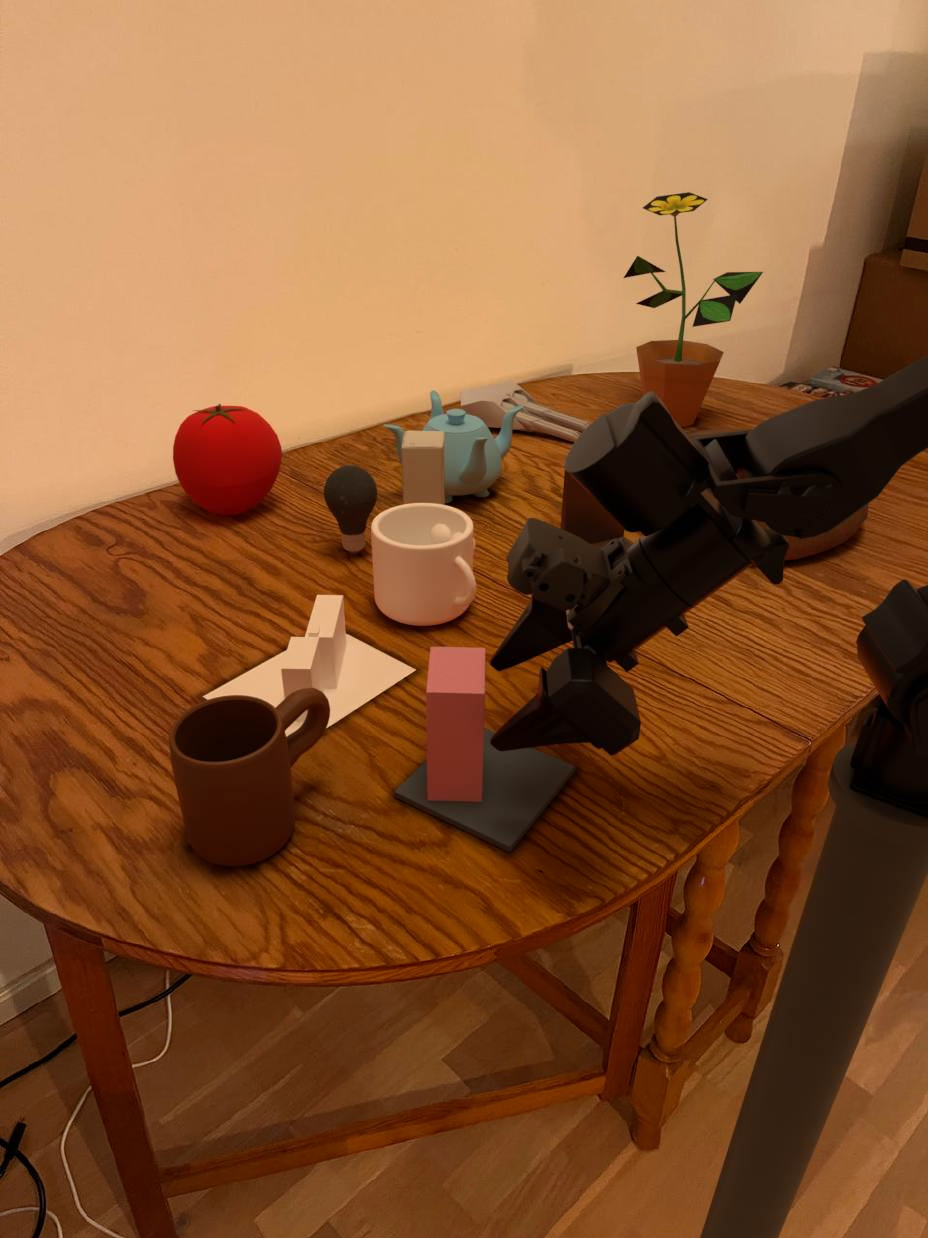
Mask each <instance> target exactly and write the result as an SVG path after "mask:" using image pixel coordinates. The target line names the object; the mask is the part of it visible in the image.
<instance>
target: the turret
mask: <svg viewBox="0 0 928 1238" xmlns="http://www.w3.org/2000/svg"><path fill="white" fill-rule="evenodd" d="M459 395H460V409H461V410H464V411H465V412H466V414H468V415H473V416H476V417H478V418H480V419H481V420H482V421H483V422H484V423H485V424H486V426H487V427H488V428H495V429H496V428H498V429H501V428H502V422H503V418H504V416H505V414H506V413H507V411H508V410H510V409H511V408H513V407H516V406H519V405H524V407H523V408H522V409H521V410H520V411H519V412H518V413H517V414H516V416H515V418H514V421H513V427H512V431H521V432H528V433H529V432H530V433H534V431H537V432H539V433H543V434H548V435H551V436H555V437H557V438H560V439H563V440H565V441H569V442H571V443H575V441H576V440H577V439H578V437H579V436H580V435H581V434H582V433H583V432H584V430H585V429H586V428H587V427H588V426H589V425H590V424H591V423H592V422H591V423H590V422H589V421H588V420H586V419H582V418H579V417H577V416H574V415H570V414H568V413H564V412H561V411H559V410H555V409H554V408H552V407H549V406H547V405H542V404H541V403H539V402H537V400H535V398H533V397H532V396H531V395H530V394H529V393H528V392H527V391H526V390H524V389H523V388H522V387H521V386H520V385H519V384H518V383H516V382H513V381H511V380H506V381H501V382H497V383H490V384H486V385H481V386H480V385H479V386H476V387H470V388H466V389H461V390H460V392H459ZM533 430H534V431H533Z"/></svg>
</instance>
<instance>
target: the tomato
mask: <svg viewBox="0 0 928 1238" xmlns="http://www.w3.org/2000/svg"><path fill="white" fill-rule="evenodd" d="M282 459H283V449H282V445H281V442H280V439H279V436H278V434H277V432H276V431H275V430H274V428H273V426H272V425H271V424H270V423H269V422H268V421H267V420H266V418H264V417H263V416H262V415H260V414H259V412H256V411H254V410H252V409H249V408H248V407H246V406H242V405H221V403H219V404H216V405H213V406H209V407H206V408H203V409H195V410H193V413H191V414H190V415H188V416H187V417H186V418H185V419H184V420H183V421H182V422H181V423H180V424H179V427H178V429H177V432H176V434H175V437H174V441H173V445H172V462H173V467H174V473H175V475H176V477H177V480H178V482H179V485H180V486H181V488H182V489H183V492H184V493H185V494H186V495H187V496H188V497H189V498H190V499H191V501H193V503H194V504H196V505H197V506H199V508H202V509H203V510H205V511H206V512H208V513H211V514H215V515H220V516H221V515H222V516H236V515H241V514H244V513H246V512H249V511H251V510H253V509H254V508H256V507H257V506H258V505H259V504H260V503H261V502H263V501H264V500H265V498H266V497H268V495H269V493H270V492H271V490H272V489H273V487H274V485H275V483H276V481H277V478H278V476H279V474H280V470H281V466H282Z"/></svg>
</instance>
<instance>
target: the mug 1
mask: <svg viewBox="0 0 928 1238" xmlns="http://www.w3.org/2000/svg"><path fill="white" fill-rule="evenodd" d="M306 710H308V712H307V716H306V719H305V721H304V723H303V724H302V726H301V727H300V728H299V729H298V730H296V731H295V732H293V733H291V734H290V735H288V736H287V737H286V734H285V730H286V729H287V728H288V727H289V726H290V725H291V724H292V723H293V722H294V721H295V720H296V719H297V718H299V717H300V716H301V715H302V714H303V713H304V712H305V711H306ZM329 718H330V705H329V701H328V699H327V697H326V696H325V694H324V693H323V692H322V691H320V690H318V689H315V688H313V687H312V688H304V689H300V690H297V691H295V692H293V693H291V694H289V695H288V696H287V697H286V698H285V699H284V700H283V701H282V702H281V703H280V704H279V705H278V706H277V707H276V708H275V707H274V706H273V705H271V704H270V703H268V702H266V701H264V700H262V699H259V698H256V697H252V696H245V695H229V696H221V697H216V698H212V699H209V700H207V699H205V700H204V701H201V702H198V703H197V704H195V705H193V706H190V707H189V708H188V709H186V710H185V711H184V712H183V713H181V714H180V715H179V716H178V717H177V718H176V720H175V721H174V722H173V724H172V726H171V728H170V731H169V734H168V745H169V752H170V753H169V754H170V764H171V769H172V774H173V778H174V783H175V788H176V793H177V798H178V803H179V806H180V811H181V815H182V819H183V822H184V823H183V824H184V830H185V833H186V836H187V839H188V842H189V844H190V846H191V848H192V850H193V851H194V852H195V853H196V854H197V855H198V856H200V858H201V859H204V861H207V862H209V863H212V864H214V865H218V866H221V867H222V866H223V867H231V868H234V867H244V866H249V865H254V864H256V863H259V862H262V861H264V860H267V859H268V858H270V857H272V856H273V855H275V854H276V853H277V852H279V851H280V850H281V849H282V848H283V847H284V846H285V844H286V843H287V842H288V841H289V839H290V837H291V836H292V834H293V831H294V828H295V824H296V808H295V807H296V806H295V797H294V788H293V778H292V777H293V776H292V771H291V769H292V768H293V766H294V765H295V763H297V761H298V760H299V758H300V757H301V756H302V755H303V754H305V753H306V752H308V751H310V750H311V749H312V748H313V747H314V746H315V745H316V744H317V743H318V742H319V741H320V739H321V738H322V737H323V735H324V733H325V732H326V730H327V728H326V727H327V725H328V722H329Z"/></svg>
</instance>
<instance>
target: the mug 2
mask: <svg viewBox="0 0 928 1238" xmlns="http://www.w3.org/2000/svg"><path fill="white" fill-rule="evenodd" d="M474 535H475V534H474V522H473V520H472V518H471V517H470V516H469V515H468V514H467V513H465V512H464V511H462V510H460V509H459V508H456V507H453V506H450V505H446V504H445V505H442V504H435V503H411V504H404V505H403V504H399V505H396V506H393V507H390V508H388V509H385V510H383V511H381V512H380V513H378V514H377V515H376V516H375V517H374V518H373V520H372V521H371V525H370V539H371V560H372V580H373V581H372V582H373V595H374V601H375V604H376V606H377V608H378V610H379V611H380V612H381V613H382V614H383V615H385V616H386V617H388V618H389V619H391V620H393V621H395V622H398V623H401V624H404V625H409V626H416V627H418V626H419V627H427V626H429V627H430V626H436V625H437V626H438V625H442V624H444V623H448V622H450V621H453V620H454V619H457V618H458V617H460V616H461V615H463V613H465V611H467V609H468V608H469V606H470V604H471V603H472V602H473V601H474V600H475V597H476V594H477V582H476V578H475V575H474V554H475V550H476V547H477V546H476V539H475V538H474Z"/></svg>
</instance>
